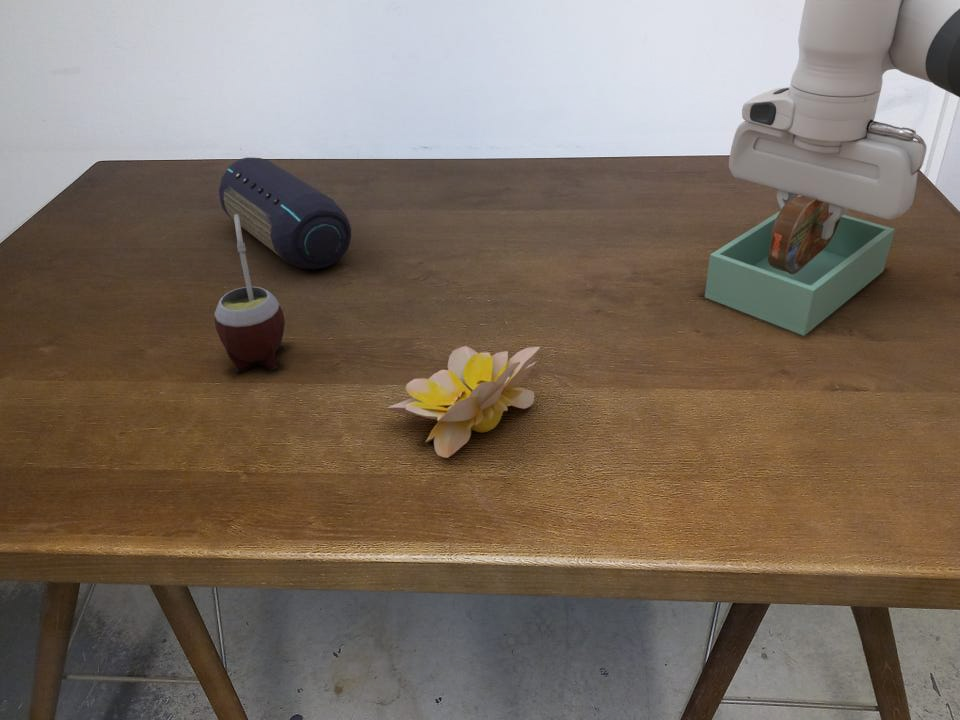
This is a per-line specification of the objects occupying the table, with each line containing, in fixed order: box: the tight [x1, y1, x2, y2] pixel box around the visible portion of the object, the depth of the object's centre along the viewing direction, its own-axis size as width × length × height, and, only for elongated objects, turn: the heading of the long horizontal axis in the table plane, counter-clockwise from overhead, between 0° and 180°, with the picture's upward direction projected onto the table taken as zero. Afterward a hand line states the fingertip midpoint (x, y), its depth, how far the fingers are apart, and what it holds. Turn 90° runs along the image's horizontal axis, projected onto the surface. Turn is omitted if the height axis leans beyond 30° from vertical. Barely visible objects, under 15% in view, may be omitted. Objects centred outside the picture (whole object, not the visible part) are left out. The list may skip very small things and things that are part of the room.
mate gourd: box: [214, 214, 286, 375], centre depth 86 cm, size 8×8×15 cm
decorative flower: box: [383, 345, 541, 458], centre depth 77 cm, size 15×11×10 cm
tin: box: [768, 195, 840, 274], centre depth 94 cm, size 15×3×8 cm, turn 138°
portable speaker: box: [218, 156, 352, 270], centre depth 110 cm, size 25×10×10 cm, turn 37°
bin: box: [704, 210, 895, 336], centre depth 96 cm, size 20×13×6 cm, turn 134°
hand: (806, 231), depth 94 cm, fingers closed on tin, 2 cm apart
